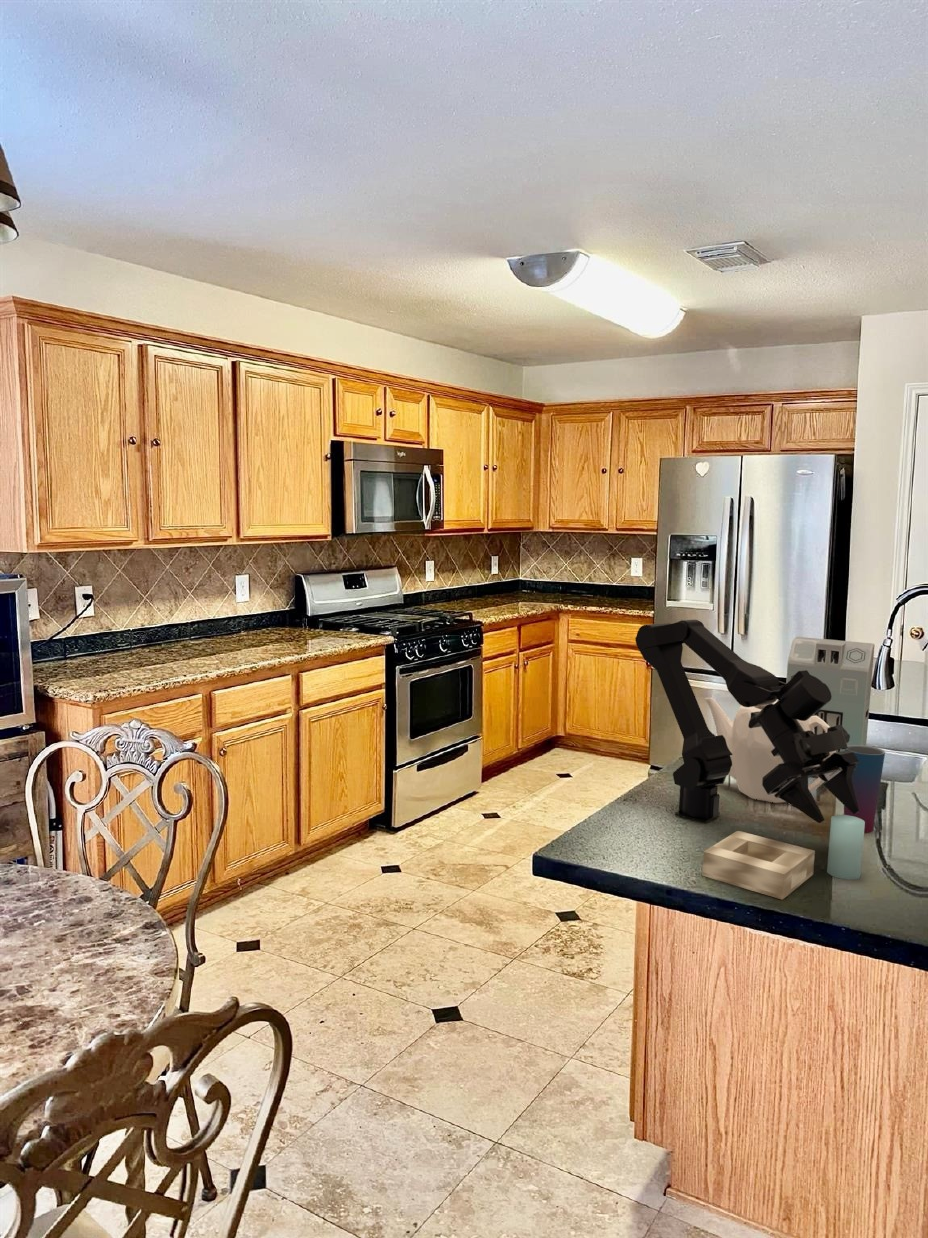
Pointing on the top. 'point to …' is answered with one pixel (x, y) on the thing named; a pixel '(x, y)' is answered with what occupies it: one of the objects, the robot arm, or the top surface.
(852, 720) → the device
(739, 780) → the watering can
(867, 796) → the cup
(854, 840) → the peg
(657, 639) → the robot arm
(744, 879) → the socket
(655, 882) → the top surface
